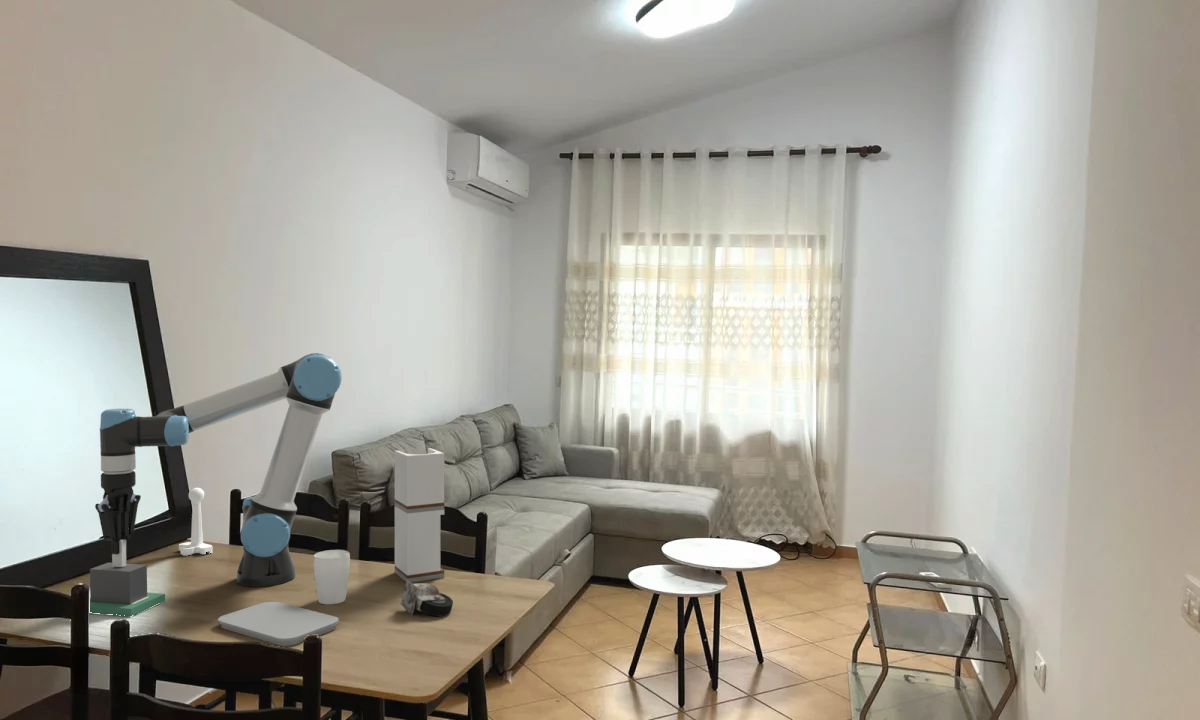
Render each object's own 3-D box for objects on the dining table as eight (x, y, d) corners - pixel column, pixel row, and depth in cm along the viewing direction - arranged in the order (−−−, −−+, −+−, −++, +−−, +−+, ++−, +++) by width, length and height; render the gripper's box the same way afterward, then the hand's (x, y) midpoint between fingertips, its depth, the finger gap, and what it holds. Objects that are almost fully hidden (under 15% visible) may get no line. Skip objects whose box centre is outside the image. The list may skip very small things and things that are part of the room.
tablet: (286, 650, 186) (286, 640, 186) (212, 628, 200) (212, 618, 200) (344, 628, 200) (344, 619, 200) (271, 609, 214) (271, 600, 214)
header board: (165, 601, 218) (164, 577, 218) (131, 617, 206) (131, 591, 206) (109, 597, 221) (109, 574, 220) (73, 612, 209) (72, 587, 209)
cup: (339, 592, 226) (339, 547, 225) (357, 600, 219) (356, 554, 219) (307, 600, 219) (307, 554, 219) (323, 608, 213) (323, 561, 213)
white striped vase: (444, 577, 240) (444, 453, 239) (407, 582, 235) (407, 455, 234) (430, 567, 250) (430, 448, 249) (394, 572, 245) (394, 450, 244)
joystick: (215, 552, 265) (215, 488, 264) (195, 558, 258) (194, 492, 258) (190, 548, 270) (190, 485, 269) (169, 553, 263) (168, 489, 262)
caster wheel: (454, 623, 211) (418, 625, 204) (434, 602, 219) (398, 603, 213) (461, 597, 210) (424, 599, 204) (440, 577, 219) (404, 578, 212)
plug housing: (147, 596, 215) (146, 565, 215) (130, 604, 209) (129, 571, 209) (108, 593, 217) (108, 562, 217) (90, 601, 211) (89, 569, 211)
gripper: (123, 466, 219) (124, 558, 220) (84, 475, 206) (85, 572, 207) (150, 467, 218) (150, 559, 219) (112, 476, 205) (113, 574, 206)
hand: (119, 565), depth 213 cm, fingers closed
